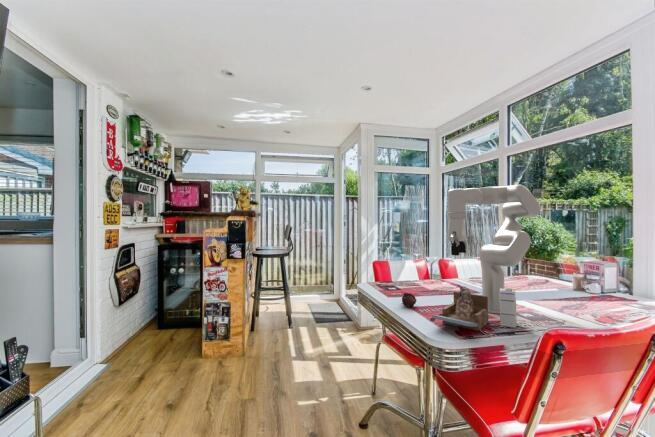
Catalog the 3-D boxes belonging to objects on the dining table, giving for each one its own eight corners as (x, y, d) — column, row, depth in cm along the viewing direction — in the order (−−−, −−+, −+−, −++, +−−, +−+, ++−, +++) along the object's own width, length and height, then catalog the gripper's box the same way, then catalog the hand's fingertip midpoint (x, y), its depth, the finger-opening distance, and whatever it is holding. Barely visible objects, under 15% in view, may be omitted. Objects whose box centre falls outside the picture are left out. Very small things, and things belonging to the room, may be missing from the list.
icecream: (422, 297, 143) (411, 292, 157) (408, 293, 142) (398, 289, 157) (419, 311, 142) (409, 305, 157) (405, 308, 141) (396, 302, 156)
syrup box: (516, 328, 118) (516, 292, 118) (499, 325, 121) (499, 290, 121) (516, 323, 123) (515, 289, 123) (500, 321, 126) (499, 287, 126)
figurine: (460, 318, 120) (460, 289, 121) (452, 313, 128) (452, 286, 128) (477, 318, 121) (477, 289, 121) (468, 313, 128) (468, 285, 128)
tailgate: (442, 315, 124) (432, 315, 118) (477, 323, 115) (469, 323, 108) (441, 320, 124) (431, 320, 117) (477, 328, 114) (468, 328, 107)
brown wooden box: (454, 315, 135) (454, 291, 135) (488, 322, 125) (487, 296, 125) (442, 322, 125) (442, 297, 125) (477, 331, 115) (477, 303, 115)
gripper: (454, 216, 141) (456, 251, 141) (442, 217, 128) (443, 255, 128) (471, 215, 136) (473, 252, 136) (460, 216, 123) (461, 256, 123)
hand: (458, 253), depth 132 cm, fingers open, 9 cm apart
